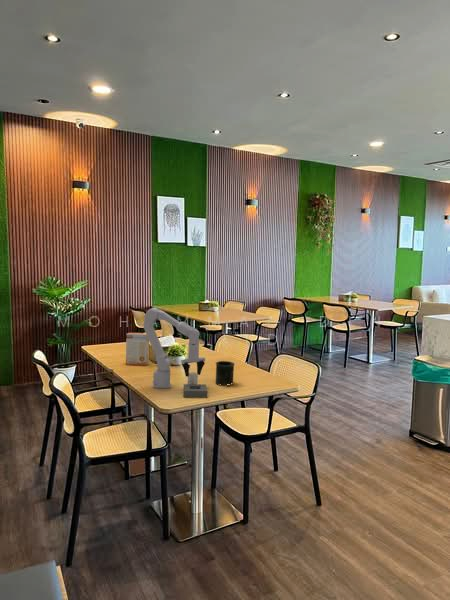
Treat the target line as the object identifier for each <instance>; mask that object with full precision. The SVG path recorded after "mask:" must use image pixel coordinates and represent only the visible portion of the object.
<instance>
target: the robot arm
mask: <svg viewBox="0 0 450 600" xmlns="http://www.w3.org/2000/svg"><path fill="white" fill-rule="evenodd" d="M156 320H158V321H164V322H166V323H169V324H170V325H172V326H173V327H175V328H176V330H177V332H179V334H182V335H184V336H185V337H188V351H187V352H188V353H187V354H188V355H187V358H185V359H181V360H180V364H181V365H182V368H183V371H184V374H185V377H187V378H188V376H189V373H190V366H191V365H190V364H192V363H193V364H194V363H196V373H197V374H198V376H200V375H201V373H202V370H203V367H204V365H205V364H206V363H205V362H206V357H199V355H200V353H199V352H200V342H199V341H200V334H201V333H200V331H199V330H198V329H197V328H195V327H194V326H190V325H189V324H188V323H187V322H186V321H178V320H177V319H176V318H174V317H172V316H171V315H170V314H168V313H167V312H165V311H163V310H161V309H159V308H158V307H151V308H150V309H148V310H147V311H146V313H145V314H144V320H143V330H144V332H145V333H146V334H147V336H148V339H149V345H151V348H152V351H153V352H154V355H155V361H156V364H157V365H156V366H157V369H156V370H154V369H153V375H152V376H153V377H152V378H153V380H152V388H154V389H170V388H171V387H172V386H171V385H172V383H171V369H170V366H171V365H172V364H171V363H172V361H171V358H169V357H168V355H167V353H165V351H164V348H163V346H162V344H161V342H160V339H159V336H158V335H157V332H156V329H155V327H154V325H155V322H156Z"/></svg>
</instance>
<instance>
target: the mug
mask: <svg viewBox="0 0 450 600" xmlns="http://www.w3.org/2000/svg"><path fill="white" fill-rule="evenodd" d="M215 366H216V368H215V384H216V383H217V384H216V385H218V384H221V385H220V386H222V385H227V384H231V383H233V384H234V374H235V372H234V370H235V369H234V367H235V362H232V361H226V360H221V361H217V362H215Z"/></svg>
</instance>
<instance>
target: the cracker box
mask: <svg viewBox="0 0 450 600" xmlns="http://www.w3.org/2000/svg"><path fill="white" fill-rule="evenodd" d="M125 338H126V339H125V340H126V342H125V346H126V347H125V365H127V366H144V367H147V366H148V365H149V361H150V360H149V358H150V341H149V339H148V336H147V334H146V332H145V333H144V332H128V333H127V332H126V337H125Z"/></svg>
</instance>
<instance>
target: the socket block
mask: <svg viewBox="0 0 450 600" xmlns="http://www.w3.org/2000/svg"><path fill="white" fill-rule="evenodd" d="M183 391H184V392H183V398H197V397H207V398H208V388H207V384H204V383H203V384H202V383H201V384H199V383H198V384H188V383H187V384H186V383H183Z"/></svg>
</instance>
